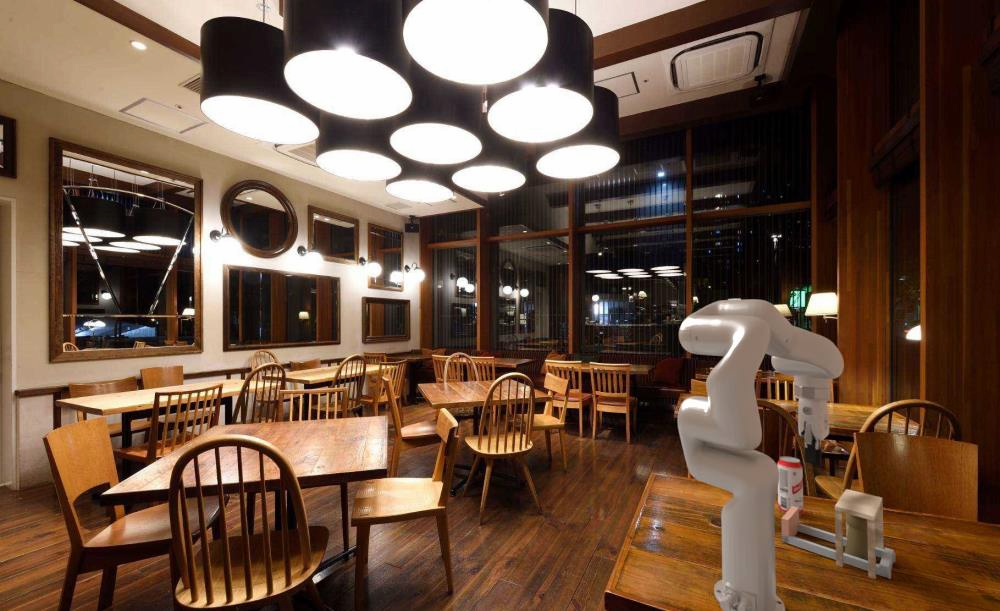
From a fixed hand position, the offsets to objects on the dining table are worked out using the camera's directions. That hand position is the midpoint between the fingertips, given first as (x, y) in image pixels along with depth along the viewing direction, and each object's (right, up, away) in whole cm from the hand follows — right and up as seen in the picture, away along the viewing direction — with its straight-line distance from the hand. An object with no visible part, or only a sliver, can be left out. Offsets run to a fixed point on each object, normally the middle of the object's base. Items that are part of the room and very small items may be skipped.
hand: (813, 463), depth 108 cm
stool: (+6, -21, -7) cm, 23 cm away
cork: (+6, -21, -7) cm, 23 cm away
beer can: (+6, -22, +17) cm, 28 cm away
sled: (+3, -21, -4) cm, 21 cm away
